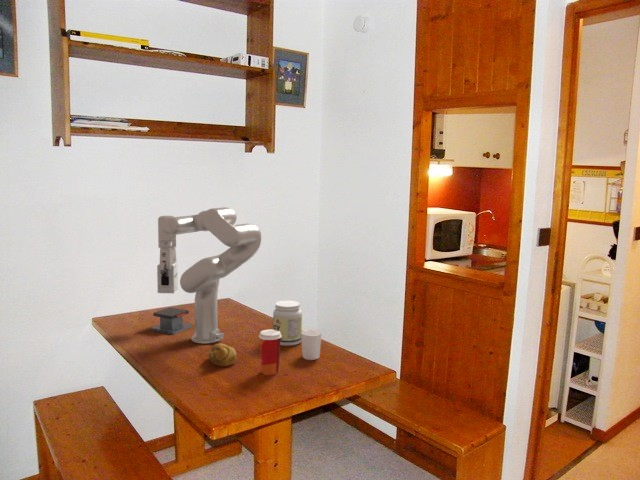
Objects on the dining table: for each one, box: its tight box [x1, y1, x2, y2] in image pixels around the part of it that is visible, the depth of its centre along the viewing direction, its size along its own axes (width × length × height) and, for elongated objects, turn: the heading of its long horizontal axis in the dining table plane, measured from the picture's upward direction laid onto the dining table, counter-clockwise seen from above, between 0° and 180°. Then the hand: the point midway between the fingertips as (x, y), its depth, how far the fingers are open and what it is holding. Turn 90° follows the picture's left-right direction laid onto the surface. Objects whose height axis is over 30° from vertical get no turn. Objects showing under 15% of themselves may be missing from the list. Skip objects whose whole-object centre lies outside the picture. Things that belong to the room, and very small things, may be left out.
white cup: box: [301, 329, 322, 361], centre depth 205 cm, size 8×8×10 cm
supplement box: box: [156, 262, 179, 294], centre depth 232 cm, size 7×7×13 cm
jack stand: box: [150, 306, 193, 336], centre depth 238 cm, size 13×13×8 cm
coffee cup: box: [258, 328, 282, 376], centre depth 189 cm, size 8×8×15 cm
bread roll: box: [208, 342, 238, 367], centre depth 199 cm, size 13×10×8 cm
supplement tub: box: [272, 300, 303, 347], centre depth 222 cm, size 12×12×17 cm
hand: (167, 282), depth 233 cm, fingers closed on supplement box, 7 cm apart
